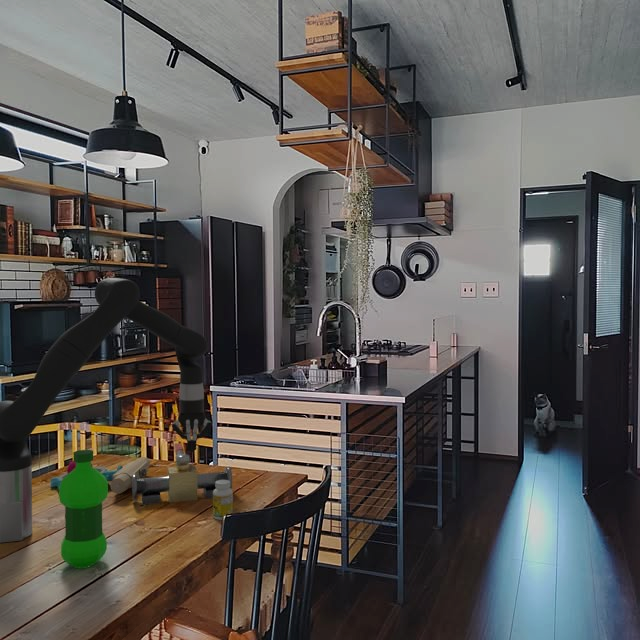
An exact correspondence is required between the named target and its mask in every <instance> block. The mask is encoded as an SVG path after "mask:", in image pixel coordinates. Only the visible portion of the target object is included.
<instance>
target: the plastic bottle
mask: <svg viewBox="0 0 640 640" xmlns="http://www.w3.org/2000/svg"><path fill="white" fill-rule="evenodd" d="M72 455H73V460H72V461H74V462H76V468H75V469H74V470H72V471H71V472H70V473H69V474H68V475H67V476H66V477H65V478H64V479H63V480H62V481H61V483H60V486H59V490H58V498H59V499H58V500H59V502H60V504H61V505H63V506H64V508H65V511H64V512H65V513H64V520H65V528H64V529H65V530H64V531H65V535H64V537H63V539H62V542H61V547H60V555H61V557H62V560H63V561H64V562H65V563H67V564H68V565H69V566H71V567H72V566H74V567H76V568H75V569H86V568H85V567H87V568H89V567H88V566H91V567H93V566H94V565H95V563H96V564H97V563H98V562H99V560H101V558H103V557H104V556H105V555H106V551H107V549H108V548H107V547H108V544H107V538H106V535H105V533H104V532H103V502H104V501H105V500H106V499H107V498H108V493H109V484H108V482H107V480H106V478H105V476H104V475H103V474H101V473H100V472H99V471H97V470H96V469H94V468H93V467H91V464H92V461H94V450H92V449H80V450H76V451H73V453H72ZM93 564H94V565H93ZM92 565H93V566H92ZM74 567H73V568H74Z"/></svg>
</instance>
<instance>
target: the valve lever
mask: <svg viewBox="0 0 640 640" xmlns="http://www.w3.org/2000/svg"><path fill="white" fill-rule="evenodd" d="M173 447H174V448H173V449H174V453H175V456H174V457H175V458H174V459H175V465H176V464H188V463H189V464H190V454H188V453H187V454H186V453H185V449H184V446H183V444H182V443H180V442H179V443H174V445H173Z"/></svg>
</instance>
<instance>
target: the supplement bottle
mask: <svg viewBox="0 0 640 640" xmlns="http://www.w3.org/2000/svg"><path fill="white" fill-rule="evenodd" d="M215 487H216V489H215V490H214V491H213V498H212V517H213V519H215V520H219V521H223V520H222V517H223V516H224V515H225V514H230V513H233V514H234V502H233V501H234V492H233V488H232V489H231V488H229V487H230V481H229V480H218V481H216V482H215Z"/></svg>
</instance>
